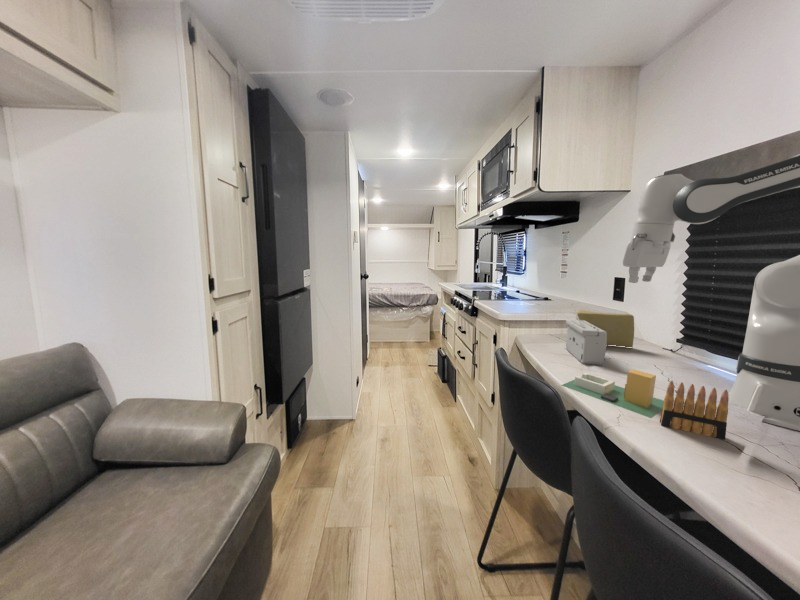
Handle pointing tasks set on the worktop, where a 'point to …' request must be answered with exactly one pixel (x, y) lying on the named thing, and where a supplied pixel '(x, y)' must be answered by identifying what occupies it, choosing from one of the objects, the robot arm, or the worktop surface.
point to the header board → (611, 393)
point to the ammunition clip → (695, 411)
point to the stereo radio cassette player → (586, 341)
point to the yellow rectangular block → (639, 388)
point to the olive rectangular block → (612, 326)
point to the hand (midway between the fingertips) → (639, 282)
